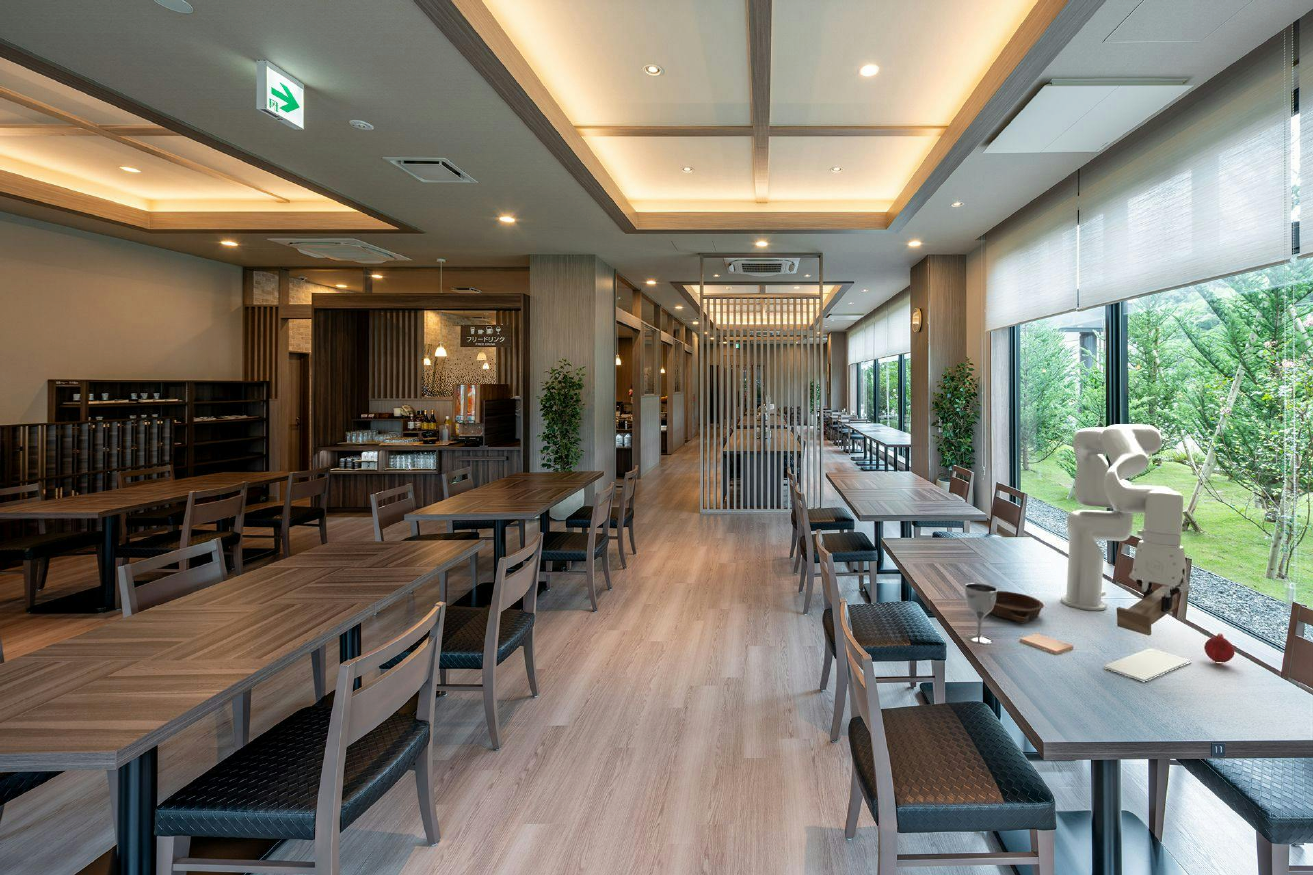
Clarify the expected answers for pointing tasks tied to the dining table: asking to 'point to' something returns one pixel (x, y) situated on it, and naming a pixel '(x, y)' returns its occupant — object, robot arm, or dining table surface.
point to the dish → (1016, 606)
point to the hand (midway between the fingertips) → (1157, 608)
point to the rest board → (1146, 664)
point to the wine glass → (980, 607)
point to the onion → (1219, 649)
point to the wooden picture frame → (1046, 643)
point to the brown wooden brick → (1144, 613)
